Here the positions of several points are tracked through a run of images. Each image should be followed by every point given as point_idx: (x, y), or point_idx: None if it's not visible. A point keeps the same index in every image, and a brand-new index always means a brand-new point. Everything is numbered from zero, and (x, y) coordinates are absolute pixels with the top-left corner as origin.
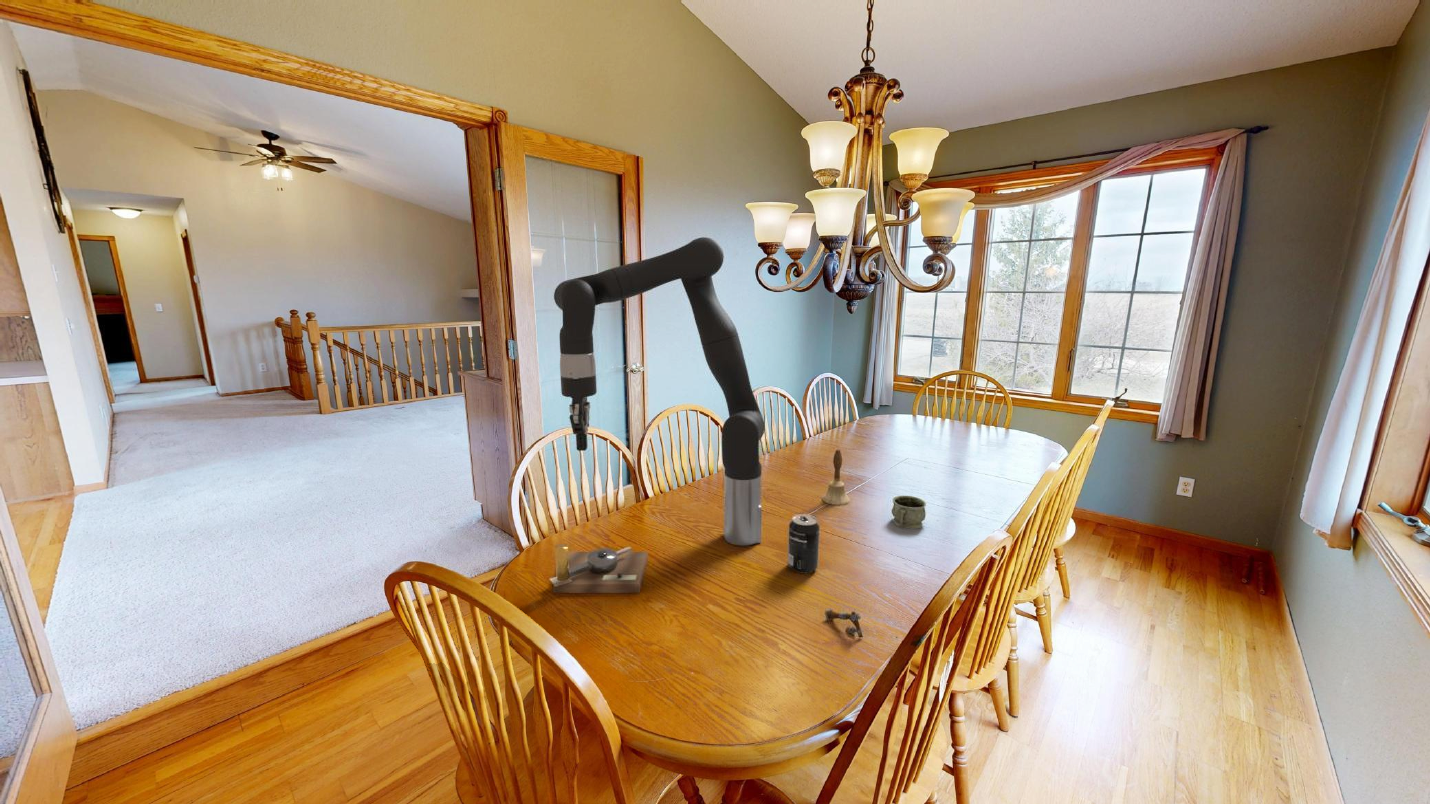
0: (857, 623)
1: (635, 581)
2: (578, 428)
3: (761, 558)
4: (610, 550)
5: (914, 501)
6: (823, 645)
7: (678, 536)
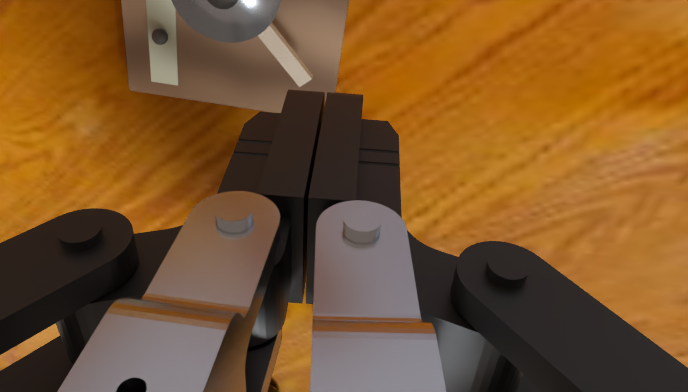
0: None
1: (142, 80)
2: (73, 335)
3: (302, 344)
4: (261, 18)
5: None
6: (5, 352)
7: (469, 202)
